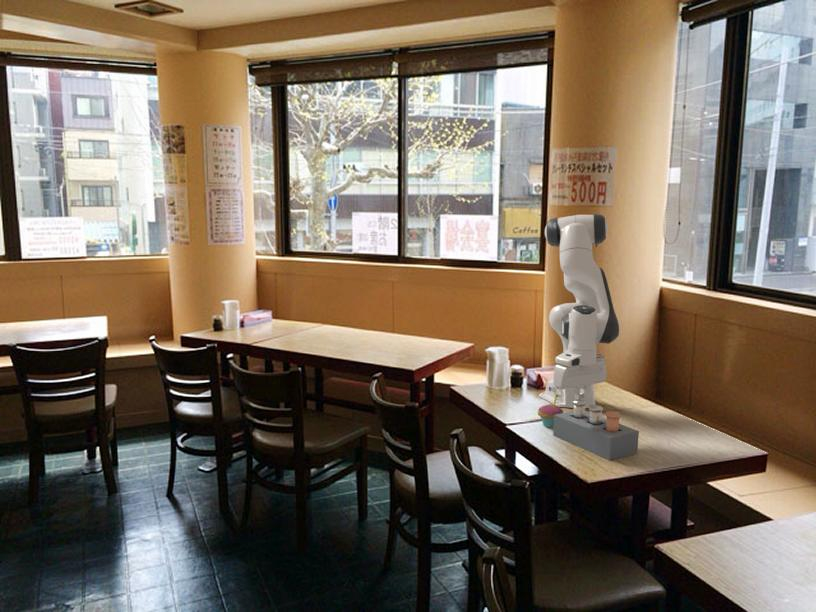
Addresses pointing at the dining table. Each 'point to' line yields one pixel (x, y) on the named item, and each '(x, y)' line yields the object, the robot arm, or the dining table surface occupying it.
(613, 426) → the terracotta plug
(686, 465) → the dining table surface
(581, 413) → the steel plug
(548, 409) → the cupcake
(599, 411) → the steel plug
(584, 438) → the slate block
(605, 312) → the robot arm
